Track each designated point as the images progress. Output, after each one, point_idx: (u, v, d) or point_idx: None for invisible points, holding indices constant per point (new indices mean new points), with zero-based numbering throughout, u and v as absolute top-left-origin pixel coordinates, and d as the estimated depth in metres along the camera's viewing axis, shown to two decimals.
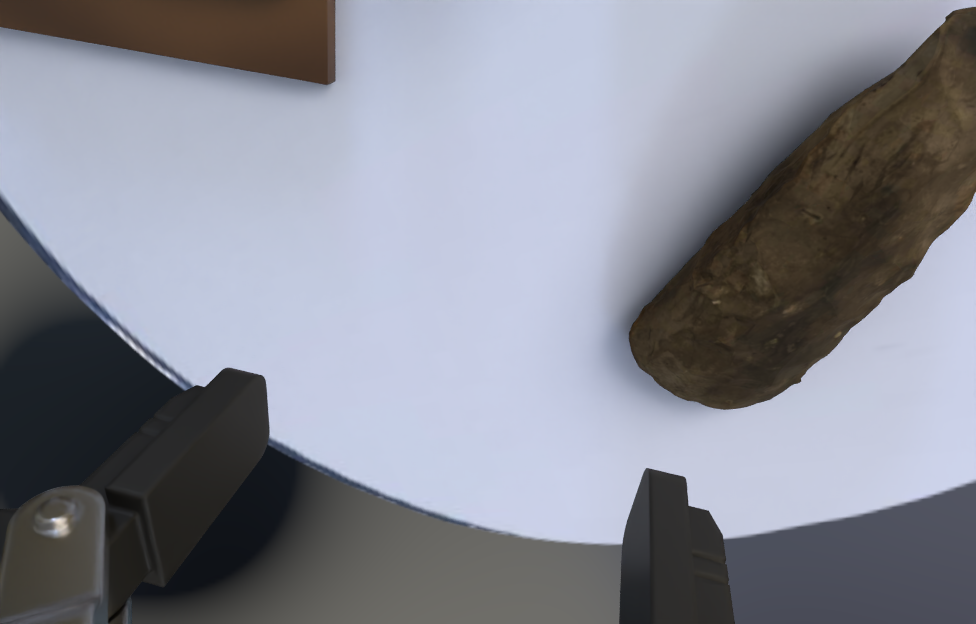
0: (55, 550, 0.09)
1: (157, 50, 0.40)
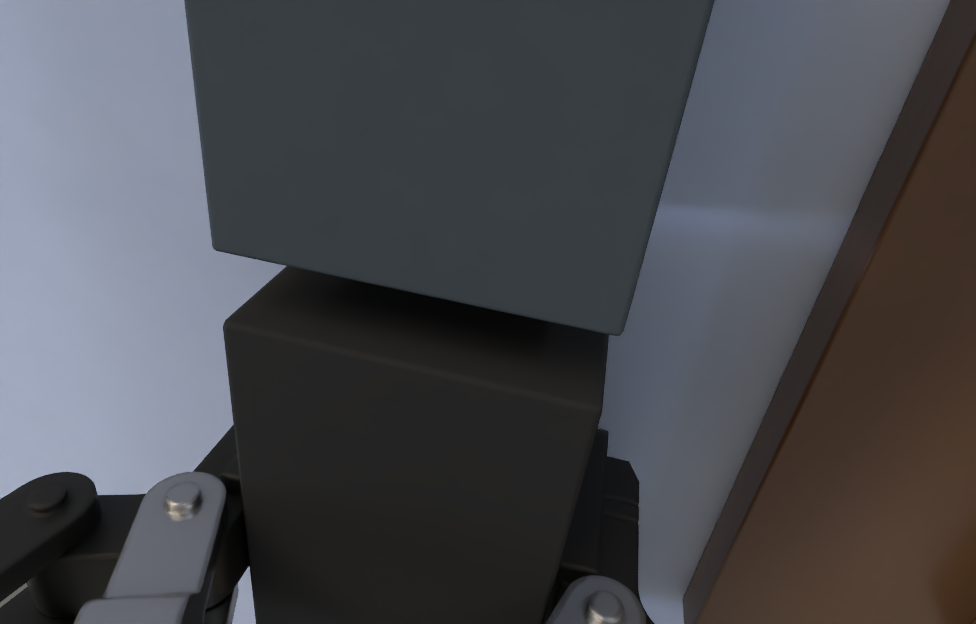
0: (173, 534, 0.09)
1: None
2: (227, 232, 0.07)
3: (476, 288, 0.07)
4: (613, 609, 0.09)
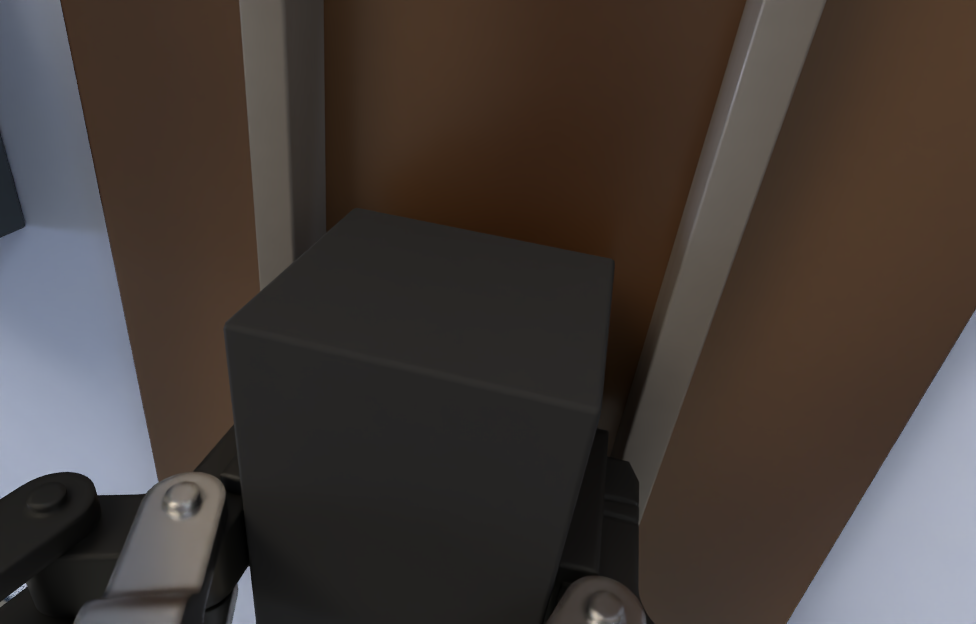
0: (173, 534, 0.09)
1: None
2: None
3: None
4: (613, 609, 0.09)
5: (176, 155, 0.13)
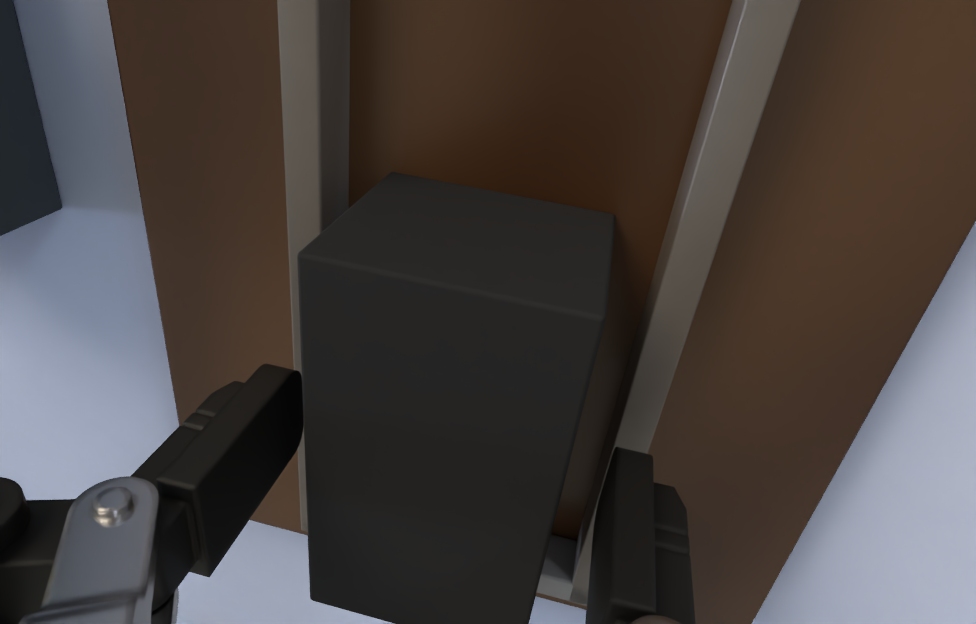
0: (108, 539, 0.09)
1: None
2: None
3: None
4: None
5: (210, 138, 0.14)
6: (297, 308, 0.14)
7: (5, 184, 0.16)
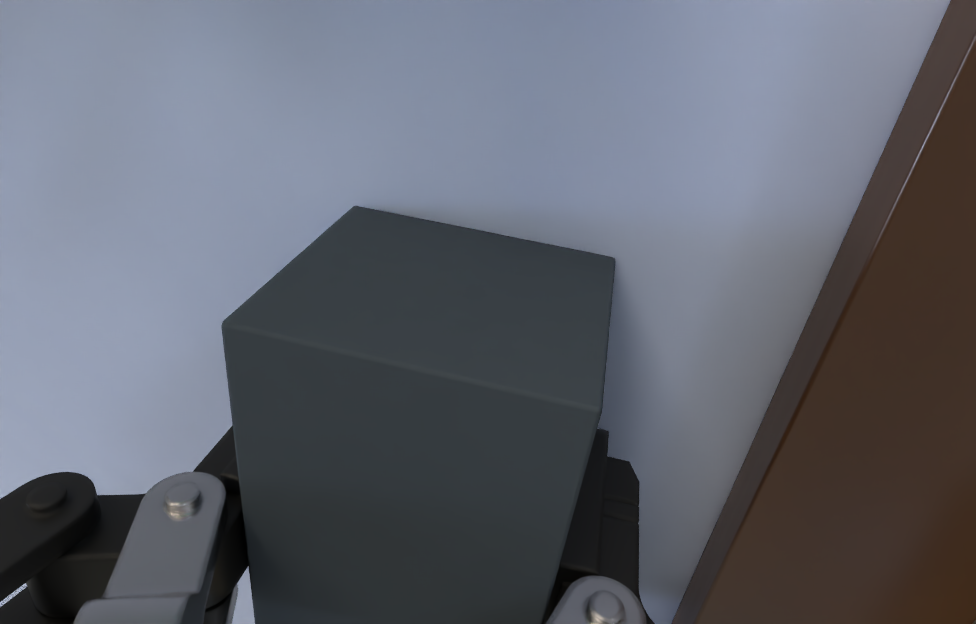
0: (173, 534, 0.09)
1: None
2: None
3: None
4: (614, 609, 0.09)
5: (830, 592, 0.13)
6: None
7: None
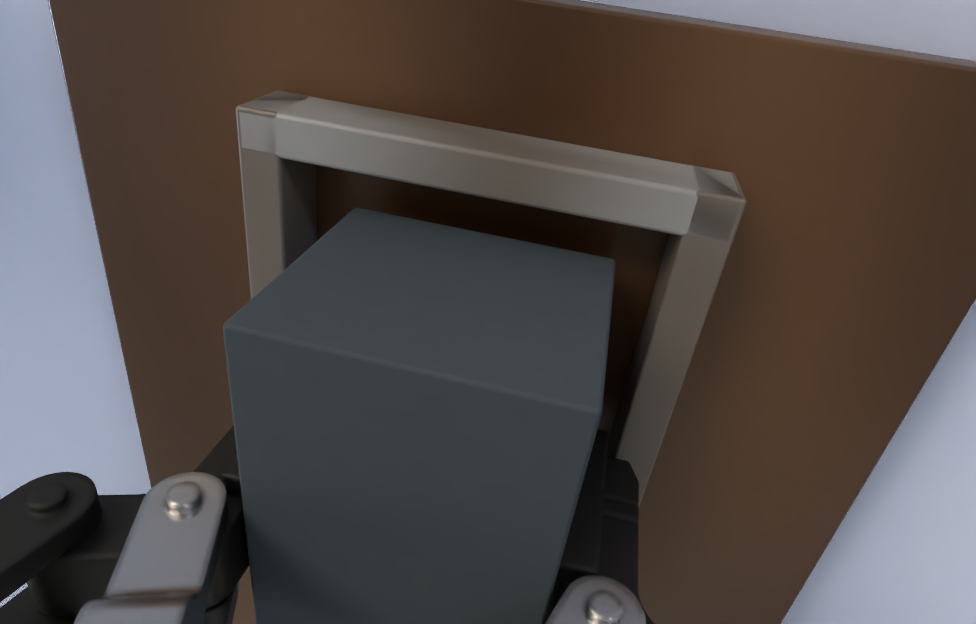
0: (174, 533, 0.09)
1: (799, 572, 0.15)
2: None
3: None
4: (613, 609, 0.09)
5: None
6: None
7: None
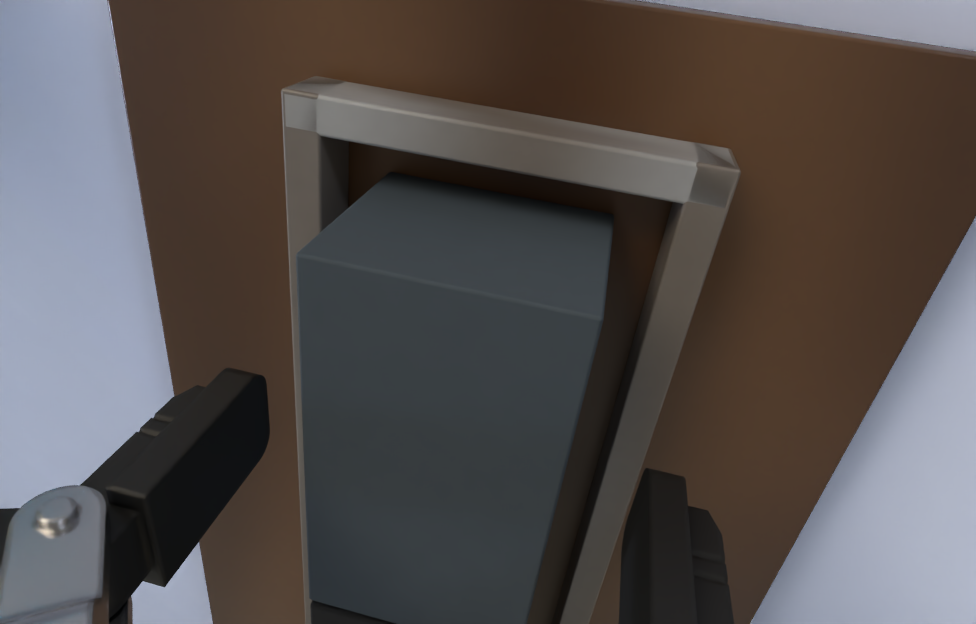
0: (56, 549, 0.09)
1: (792, 526, 0.16)
2: (318, 595, 0.15)
3: None
4: None
5: None
6: (307, 567, 0.19)
7: None
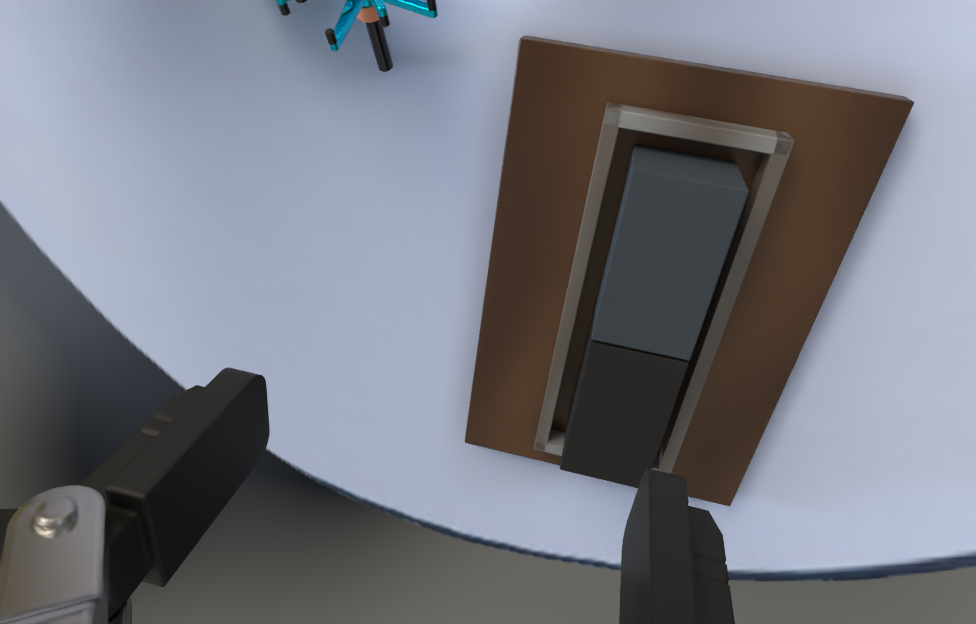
0: (55, 549, 0.09)
1: (810, 317, 0.34)
2: (597, 336, 0.32)
3: (657, 349, 0.32)
4: None
5: (522, 287, 0.37)
6: (557, 354, 0.37)
7: None
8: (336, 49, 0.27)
